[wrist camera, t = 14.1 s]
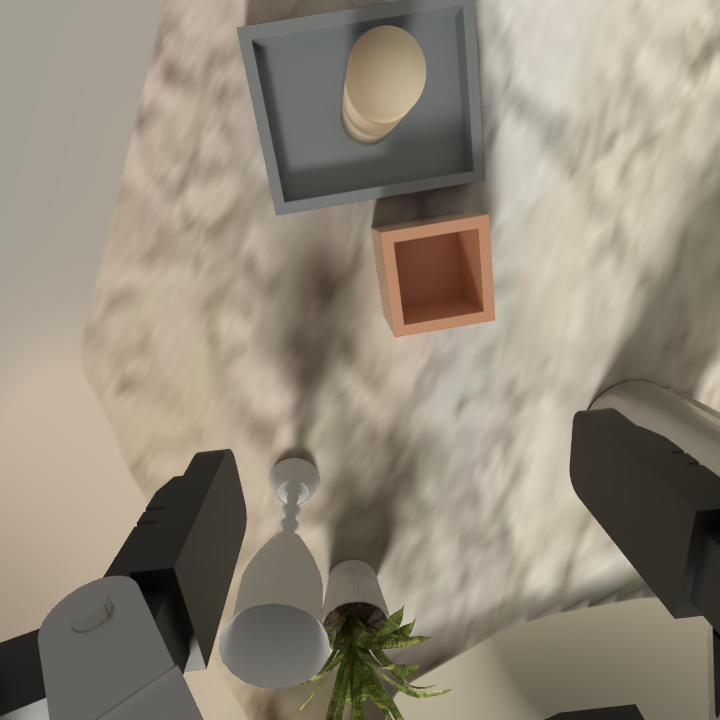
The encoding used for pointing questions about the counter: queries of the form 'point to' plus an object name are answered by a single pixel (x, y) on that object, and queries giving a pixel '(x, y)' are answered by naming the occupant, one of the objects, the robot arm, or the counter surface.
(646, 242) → the counter surface
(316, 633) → the chalice
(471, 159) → the tray
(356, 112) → the peg
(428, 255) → the terracotta open box
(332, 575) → the house plant
